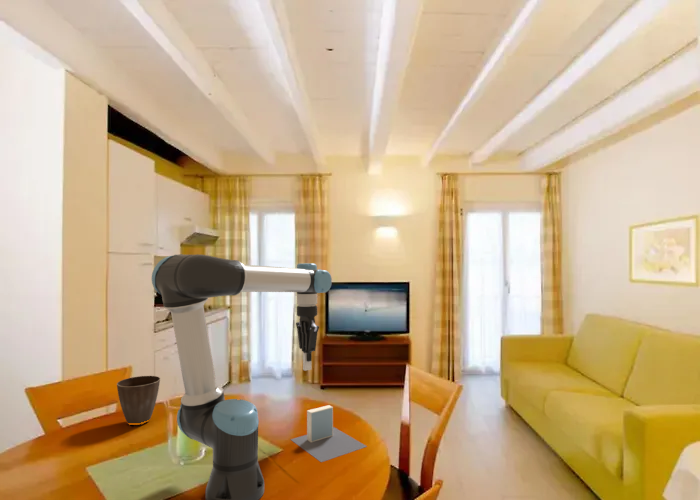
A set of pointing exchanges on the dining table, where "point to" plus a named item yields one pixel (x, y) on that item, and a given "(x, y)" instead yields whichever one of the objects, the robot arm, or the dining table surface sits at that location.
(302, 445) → the mat
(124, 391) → the plant pot
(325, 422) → the tile
